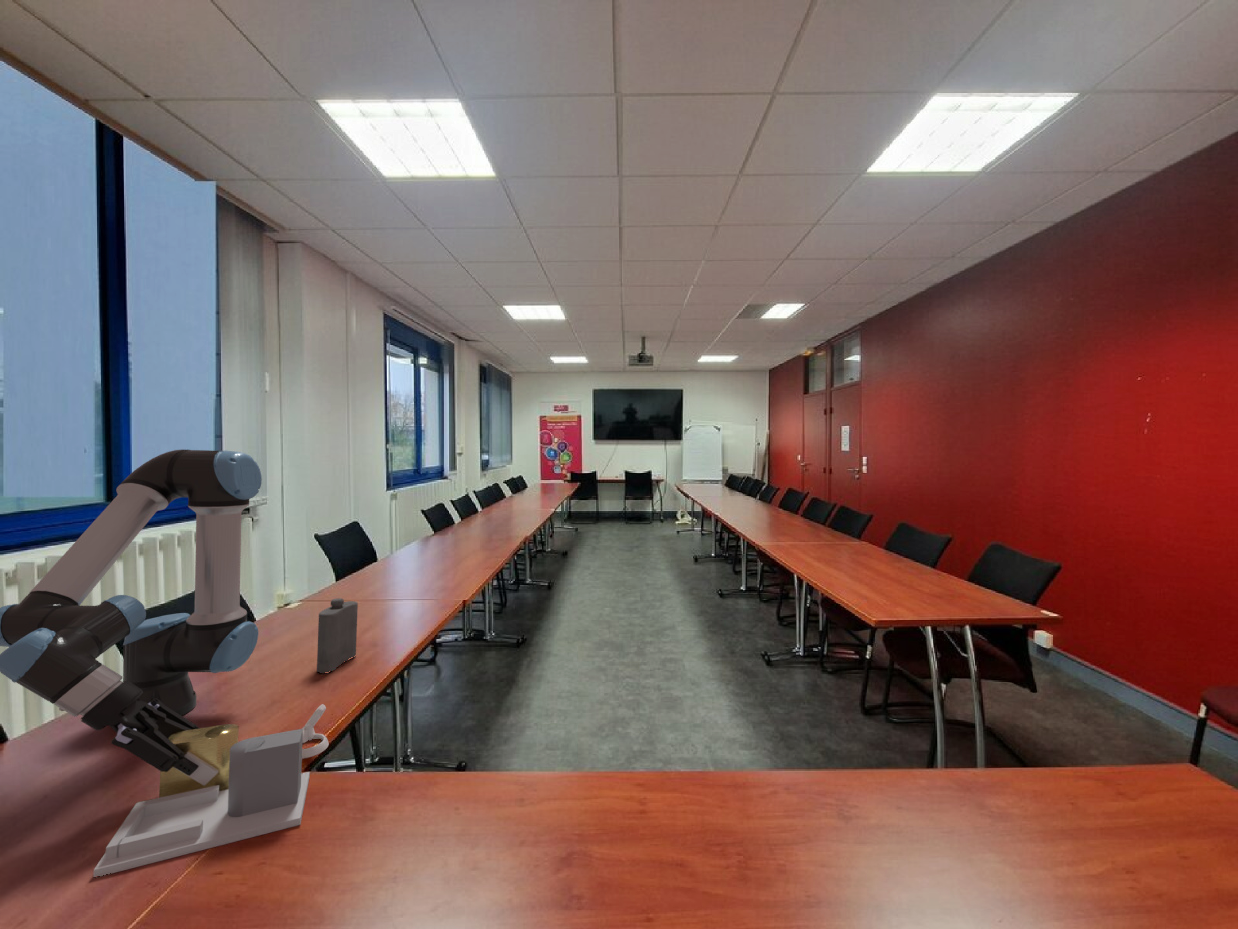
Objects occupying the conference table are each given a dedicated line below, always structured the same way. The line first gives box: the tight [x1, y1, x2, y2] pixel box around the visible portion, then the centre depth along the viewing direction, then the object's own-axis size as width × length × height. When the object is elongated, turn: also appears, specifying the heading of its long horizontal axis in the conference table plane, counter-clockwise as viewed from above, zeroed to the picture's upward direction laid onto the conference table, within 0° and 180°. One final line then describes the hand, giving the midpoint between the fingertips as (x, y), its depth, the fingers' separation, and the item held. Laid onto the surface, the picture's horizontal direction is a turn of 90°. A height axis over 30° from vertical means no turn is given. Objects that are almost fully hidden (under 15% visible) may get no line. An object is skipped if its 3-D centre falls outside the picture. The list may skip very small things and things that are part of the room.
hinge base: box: [93, 728, 311, 878], centre depth 85 cm, size 26×14×12 cm, turn 117°
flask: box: [316, 597, 359, 673], centre depth 151 cm, size 15×6×20 cm, turn 177°
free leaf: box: [158, 723, 239, 798], centre depth 91 cm, size 10×5×11 cm, turn 115°
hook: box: [301, 703, 330, 760], centre depth 106 cm, size 8×12×7 cm
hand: (216, 769), depth 92 cm, fingers closed on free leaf, 5 cm apart
